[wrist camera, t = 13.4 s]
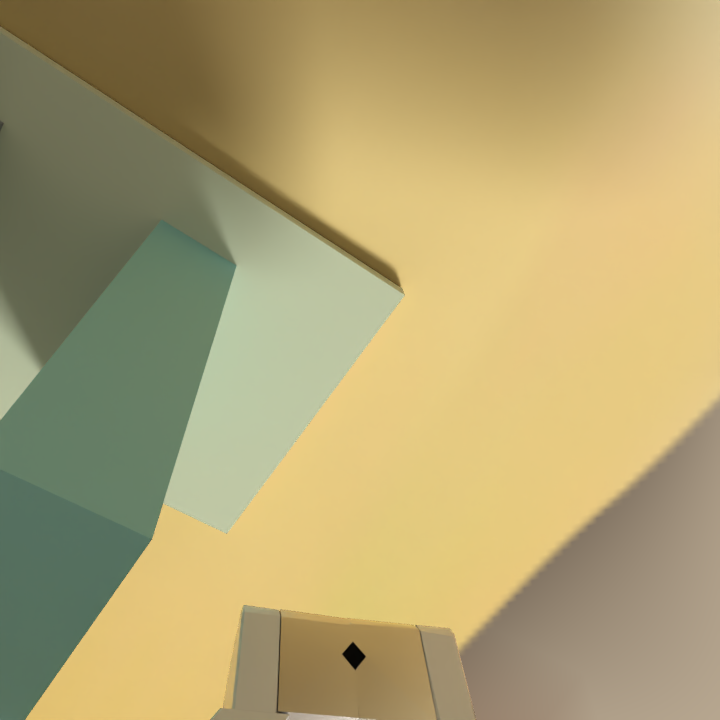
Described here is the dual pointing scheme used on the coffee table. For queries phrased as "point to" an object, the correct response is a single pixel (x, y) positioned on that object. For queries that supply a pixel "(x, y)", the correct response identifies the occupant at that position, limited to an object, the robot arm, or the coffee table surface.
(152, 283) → the domino
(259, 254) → the runner mat
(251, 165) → the coffee table surface
